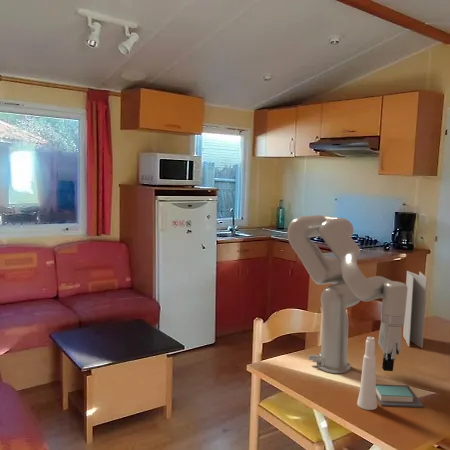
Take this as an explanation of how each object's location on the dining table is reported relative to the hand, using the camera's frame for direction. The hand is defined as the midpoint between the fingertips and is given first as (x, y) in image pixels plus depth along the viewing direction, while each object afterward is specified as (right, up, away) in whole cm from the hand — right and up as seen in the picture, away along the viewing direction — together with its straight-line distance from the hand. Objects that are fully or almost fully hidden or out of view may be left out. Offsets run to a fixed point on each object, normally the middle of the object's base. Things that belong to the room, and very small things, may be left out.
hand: (387, 369), depth 158 cm
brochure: (+27, -2, +44) cm, 52 cm away
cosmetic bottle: (-11, -7, -13) cm, 18 cm away
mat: (0, -7, -6) cm, 9 cm away
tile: (-1, -5, -5) cm, 7 cm away
